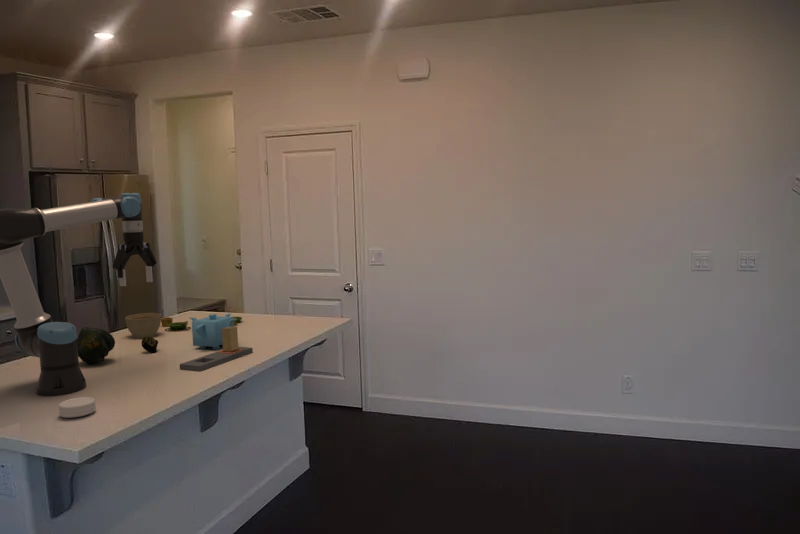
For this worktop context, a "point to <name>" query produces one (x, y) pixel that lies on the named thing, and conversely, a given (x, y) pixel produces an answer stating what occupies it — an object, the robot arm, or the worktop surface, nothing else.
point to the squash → (94, 344)
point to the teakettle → (210, 330)
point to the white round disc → (77, 407)
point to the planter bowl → (143, 324)
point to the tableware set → (183, 324)
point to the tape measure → (149, 344)
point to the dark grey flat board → (214, 359)
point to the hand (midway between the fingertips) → (136, 284)
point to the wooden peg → (230, 339)
